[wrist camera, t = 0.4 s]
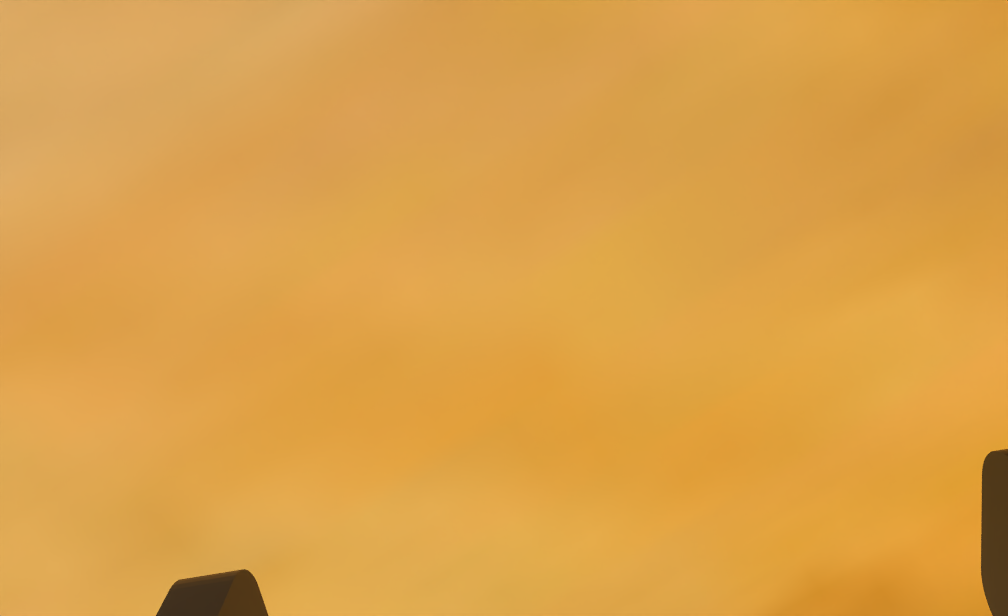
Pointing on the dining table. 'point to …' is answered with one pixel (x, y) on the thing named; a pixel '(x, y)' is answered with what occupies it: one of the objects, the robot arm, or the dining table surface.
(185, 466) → the dining table surface
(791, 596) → the dining table surface
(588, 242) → the dining table surface
